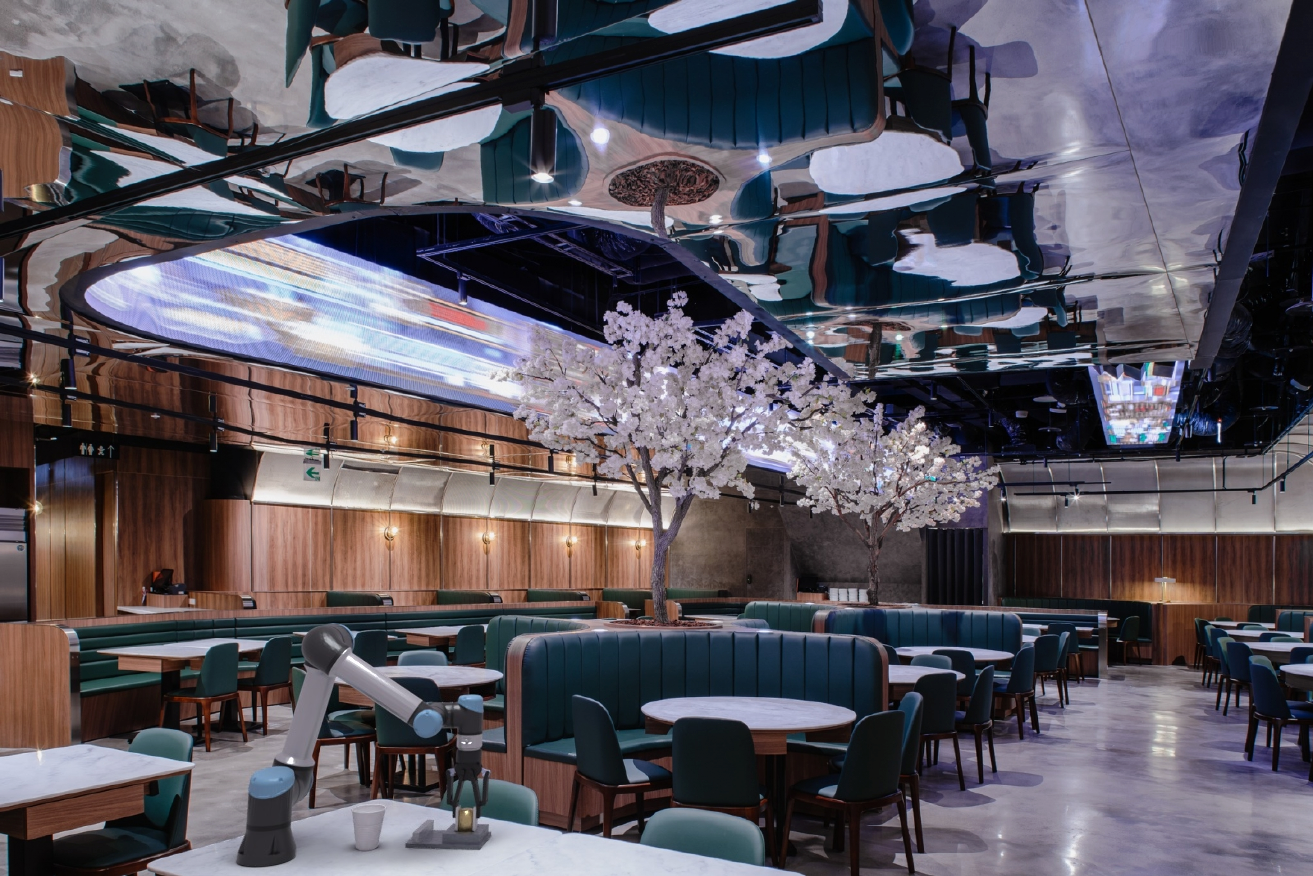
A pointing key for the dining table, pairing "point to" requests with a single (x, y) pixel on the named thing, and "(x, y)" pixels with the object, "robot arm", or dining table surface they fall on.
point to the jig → (448, 837)
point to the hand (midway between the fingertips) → (466, 829)
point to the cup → (368, 825)
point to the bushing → (466, 820)
